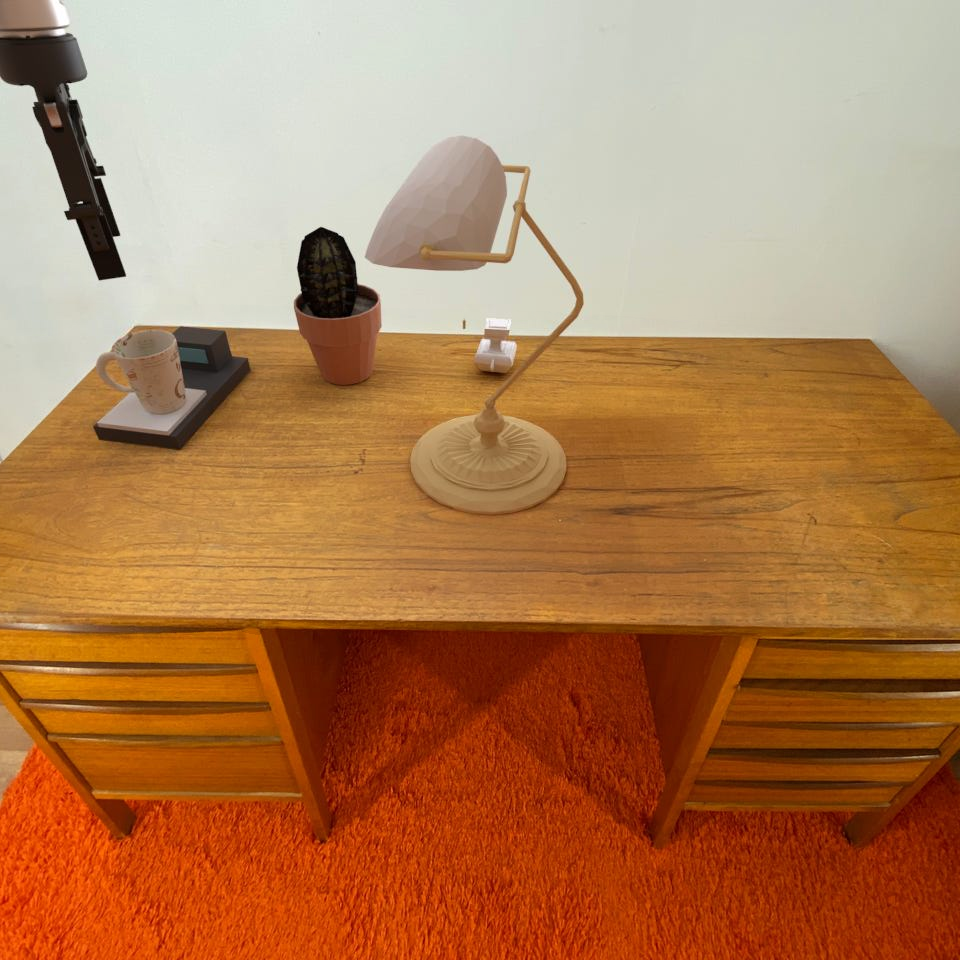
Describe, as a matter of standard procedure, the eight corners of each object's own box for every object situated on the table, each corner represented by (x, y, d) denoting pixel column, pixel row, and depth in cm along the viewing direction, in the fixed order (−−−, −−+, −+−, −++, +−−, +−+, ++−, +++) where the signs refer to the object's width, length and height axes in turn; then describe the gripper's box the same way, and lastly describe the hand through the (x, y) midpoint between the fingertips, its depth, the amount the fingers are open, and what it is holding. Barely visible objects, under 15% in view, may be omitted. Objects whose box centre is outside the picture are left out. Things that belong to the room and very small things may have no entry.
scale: (180, 450, 92) (164, 407, 88) (98, 439, 94) (78, 397, 89) (250, 370, 110) (241, 330, 105) (180, 362, 111) (168, 323, 107)
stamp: (480, 353, 115) (481, 309, 110) (517, 356, 115) (519, 312, 109) (472, 378, 109) (472, 333, 103) (510, 382, 108) (513, 337, 102)
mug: (183, 419, 93) (162, 358, 86) (96, 418, 93) (68, 357, 86) (202, 388, 99) (183, 329, 93) (120, 388, 99) (96, 329, 92)
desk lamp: (425, 396, 104) (412, 120, 78) (567, 407, 102) (601, 128, 76) (381, 528, 81) (341, 196, 55) (564, 545, 79) (612, 210, 53)
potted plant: (403, 366, 111) (392, 219, 95) (349, 402, 103) (328, 247, 86) (344, 345, 117) (325, 202, 101) (289, 377, 108) (258, 227, 92)
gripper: (73, 46, 53) (154, 291, 66) (74, 19, 70) (138, 218, 84) (-34, 50, 50) (73, 304, 64) (-6, 20, 67) (74, 226, 81)
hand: (110, 256), depth 74 cm, fingers open, 13 cm apart
